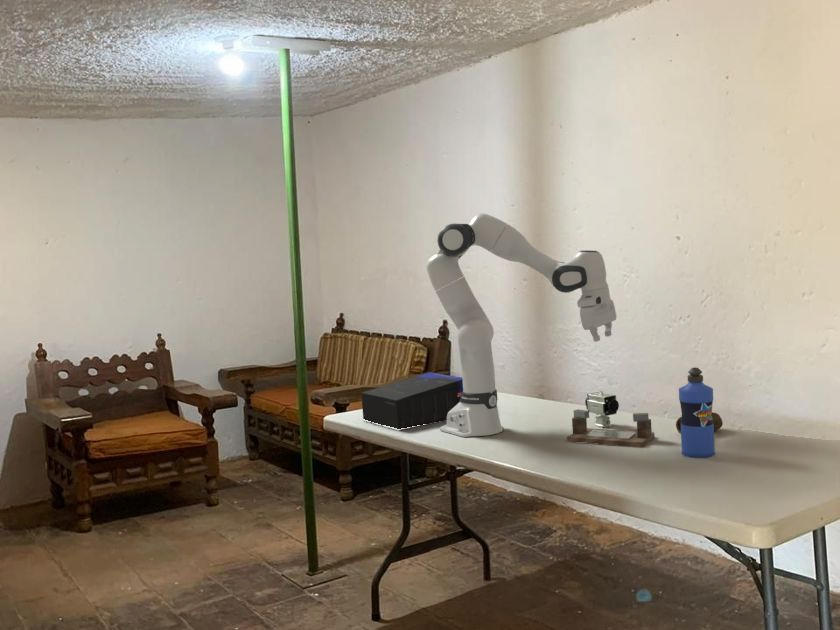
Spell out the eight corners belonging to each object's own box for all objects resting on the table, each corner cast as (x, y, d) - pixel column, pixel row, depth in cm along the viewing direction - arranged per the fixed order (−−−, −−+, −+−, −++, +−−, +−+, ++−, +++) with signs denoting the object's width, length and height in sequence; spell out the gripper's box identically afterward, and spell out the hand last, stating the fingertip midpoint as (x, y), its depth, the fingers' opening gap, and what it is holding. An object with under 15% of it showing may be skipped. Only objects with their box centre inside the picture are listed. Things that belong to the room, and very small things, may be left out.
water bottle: (674, 452, 239) (670, 368, 237) (699, 447, 243) (696, 364, 240) (696, 459, 231) (692, 372, 228) (722, 454, 234) (719, 368, 232)
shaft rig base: (567, 441, 260) (566, 421, 259) (581, 432, 271) (580, 413, 270) (642, 447, 247) (641, 426, 247) (654, 437, 258) (653, 417, 258)
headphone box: (476, 414, 310) (473, 376, 309) (398, 431, 291) (396, 391, 289) (437, 406, 331) (435, 371, 329) (363, 421, 311) (360, 384, 310)
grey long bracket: (569, 435, 262) (568, 413, 261) (578, 429, 269) (577, 408, 268) (645, 440, 249) (644, 417, 249) (652, 434, 256) (651, 412, 255)
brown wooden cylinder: (691, 439, 253) (690, 418, 252) (674, 435, 259) (673, 415, 258) (725, 431, 260) (724, 410, 259) (707, 427, 266) (707, 407, 266)
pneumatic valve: (596, 422, 283) (594, 388, 282) (620, 428, 273) (618, 392, 272) (583, 425, 280) (582, 390, 279) (607, 431, 270) (606, 395, 269)
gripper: (600, 294, 283) (606, 333, 284) (574, 303, 267) (581, 344, 268) (617, 292, 279) (623, 332, 280) (592, 301, 263) (599, 343, 264)
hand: (602, 338), depth 274 cm, fingers open, 8 cm apart
